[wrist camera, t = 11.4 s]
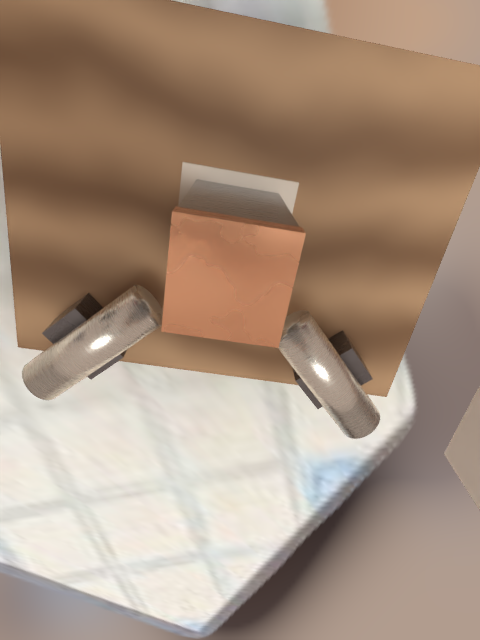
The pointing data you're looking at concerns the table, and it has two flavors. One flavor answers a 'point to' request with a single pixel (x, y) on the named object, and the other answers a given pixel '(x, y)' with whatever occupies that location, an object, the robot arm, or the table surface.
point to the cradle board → (227, 165)
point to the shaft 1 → (90, 340)
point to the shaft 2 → (329, 373)
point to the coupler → (231, 264)
